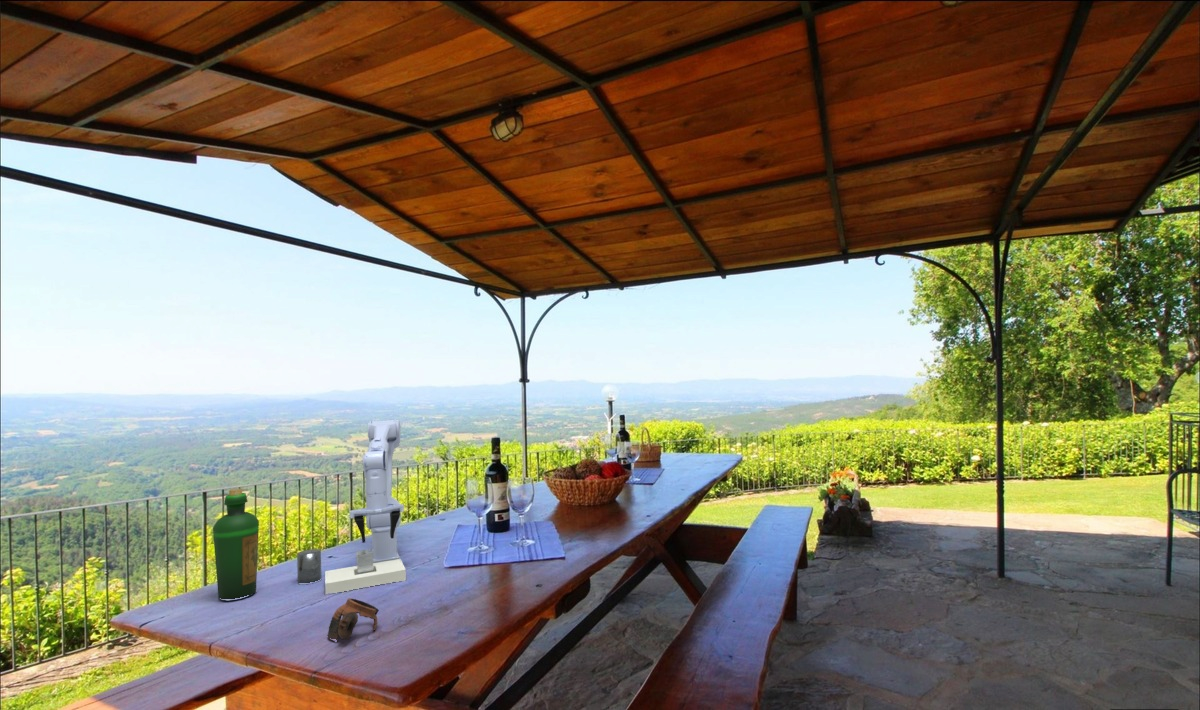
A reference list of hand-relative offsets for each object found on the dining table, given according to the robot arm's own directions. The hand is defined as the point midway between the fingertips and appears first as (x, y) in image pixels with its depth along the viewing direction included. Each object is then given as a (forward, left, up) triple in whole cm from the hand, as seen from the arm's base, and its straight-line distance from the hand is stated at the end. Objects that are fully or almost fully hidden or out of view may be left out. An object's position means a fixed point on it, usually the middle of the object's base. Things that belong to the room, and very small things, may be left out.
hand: (378, 539), depth 168 cm
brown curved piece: (+43, -9, -10) cm, 45 cm away
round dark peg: (-4, -18, -9) cm, 21 cm away
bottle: (-1, -35, -10) cm, 36 cm away
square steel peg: (+6, -4, -9) cm, 12 cm away
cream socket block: (+6, -4, -9) cm, 12 cm away
